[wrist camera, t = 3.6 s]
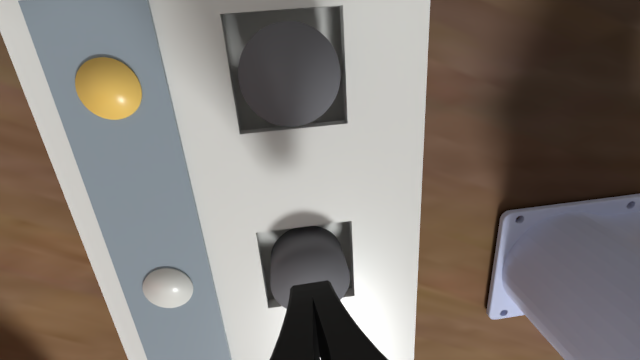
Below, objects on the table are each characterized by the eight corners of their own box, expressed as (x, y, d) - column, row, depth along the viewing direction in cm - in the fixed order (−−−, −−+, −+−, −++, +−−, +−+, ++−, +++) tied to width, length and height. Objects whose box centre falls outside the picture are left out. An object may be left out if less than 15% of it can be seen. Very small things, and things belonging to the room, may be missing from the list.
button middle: (340, 220, 17) (348, 243, 16) (343, 280, 19) (351, 307, 17) (266, 230, 17) (265, 254, 15) (275, 290, 19) (275, 318, 17)
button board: (404, -43, 15) (436, -60, 12) (395, 380, 26) (412, 427, 23) (33, -20, 14) (-32, -34, 11) (180, 415, 24) (167, 470, 21)
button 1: (329, 18, 14) (338, 16, 12) (334, 110, 15) (342, 121, 13) (235, 25, 14) (229, 24, 12) (249, 119, 15) (246, 131, 13)
